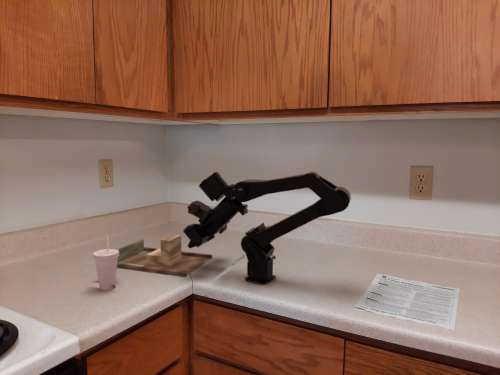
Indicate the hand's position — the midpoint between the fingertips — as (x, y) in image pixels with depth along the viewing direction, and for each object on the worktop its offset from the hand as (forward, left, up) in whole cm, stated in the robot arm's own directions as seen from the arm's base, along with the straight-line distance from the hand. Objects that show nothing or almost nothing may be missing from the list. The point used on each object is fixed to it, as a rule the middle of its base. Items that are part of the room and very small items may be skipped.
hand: (189, 246), depth 109 cm
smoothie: (+8, +22, -7) cm, 25 cm away
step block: (+8, +2, -6) cm, 10 cm away
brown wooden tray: (+9, +2, -7) cm, 12 cm away
